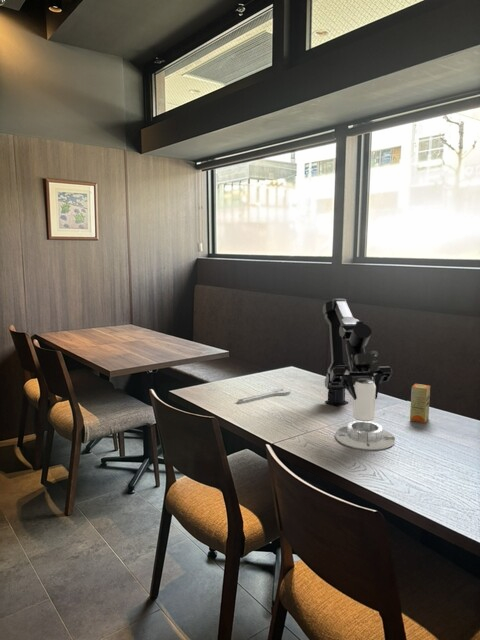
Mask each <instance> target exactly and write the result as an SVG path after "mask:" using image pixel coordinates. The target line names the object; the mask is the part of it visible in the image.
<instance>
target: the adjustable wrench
mask: <svg viewBox="0 0 480 640" xmlns="http://www.w3.org/2000/svg"><path fill="white" fill-rule="evenodd" d="M289 395H291V389H287V390H284V388H283V387H281V388H274V389H273V390H271V391H269V392H265V393H260V394H257V395H252V396H248V397H244V398H240V399H237V400H236V401H237V404H238V403H240V404H241V405H243V404H246V403H250V402H255V401H260V400H264V399H267V398H272V397H278V396H289ZM242 403H243V404H242ZM240 404H239V405H240Z"/></svg>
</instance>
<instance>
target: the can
mask: <svg viewBox="0 0 480 640" xmlns="http://www.w3.org/2000/svg"><path fill="white" fill-rule="evenodd" d="M374 382H375V381H374V380H372V378H369V377H358V378H355V382H354V383H353V385H354V389H355V393H356V400H354V399H353V412H352V413H353V414H352V415H353V418H354V419H355V420H356V421H370V422H373V421H374V419H375V418H376V417H375V415H376V399H375V395H376V386H375V383H374Z"/></svg>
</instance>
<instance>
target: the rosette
mask: <svg viewBox="0 0 480 640" xmlns="http://www.w3.org/2000/svg"><path fill="white" fill-rule="evenodd" d="M334 436H335V440H336V441H337V442H338V443H340V444H341V445H343V446H346V447H347V448H352V449H354V450H355V449H356V450H360V451H383V450H387V449H390V448H392V447H393V446H394V445H395V443H396V442H395V441H396V439H395V438H396V437H395V436H394V435H393V434H392V433H391V432H390V431H388V430H385V429H383V426H382V425H381V424H379V423H377V422H374V421H360V420H354V421H351V422H348V424H347V426H343V427H341V428H338V429H337V430H336V431H335V433H334Z"/></svg>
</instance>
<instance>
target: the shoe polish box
mask: <svg viewBox="0 0 480 640" xmlns="http://www.w3.org/2000/svg"><path fill="white" fill-rule="evenodd" d="M410 391H411V393H410V412H409V414H410V415H409V421H410V420H412V421H411V422H415V421H417V422H416V423H420V422H422V424H426V423H427V421H428V420H429V417H430V414H429V413H430V402H431V401H430V398H431V385H429V384H420V383H414V384H413V385H412V386H411V390H410ZM425 422H426V423H425Z"/></svg>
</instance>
